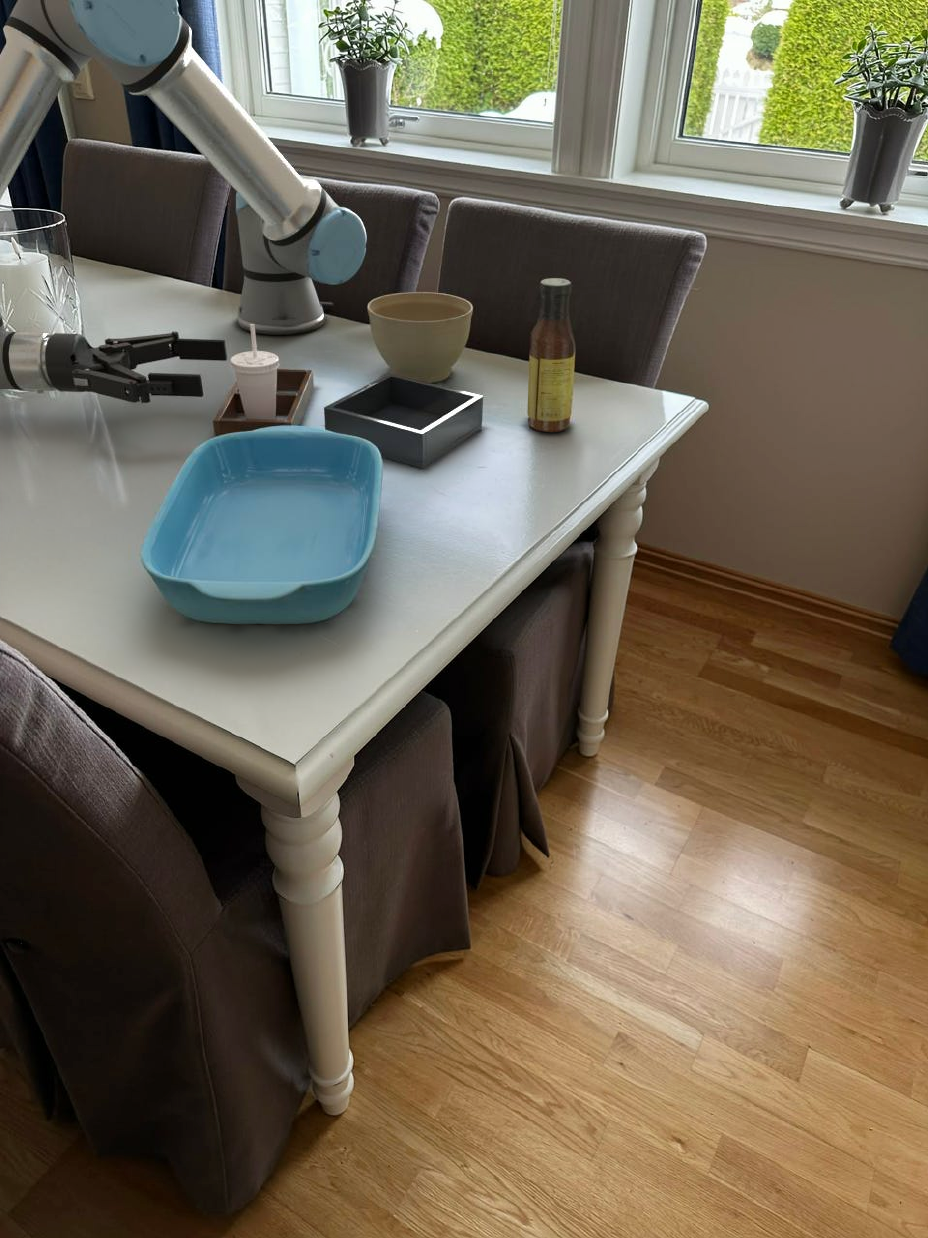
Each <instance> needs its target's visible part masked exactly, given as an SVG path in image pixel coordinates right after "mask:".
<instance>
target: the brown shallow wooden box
mask: <svg viewBox="0 0 928 1238" xmlns="http://www.w3.org/2000/svg"><path fill="white" fill-rule="evenodd" d="M314 381H315V380H314V370H313V369H287V368H286V369H284V368H277V385H276V391H297V393H295V392H294V393H293V392H292V393H291V392H276V416H278V415H279V416H287V417H286V419H275V420H263V419H246V418H235V417H236V416H237V414H238V415H245V413H244V409H243V405H242V401H241V397H240V393H239V389H238V385H237V381H236V380H235V382H234V384H233V385H232V387H231V389H230V391H229V392H228V394H227V396H226V398H225V399H224V400H223V402H222V404H221V406H220V407H219V409H218V411H217V412H216V415H215V416H214V417H213V419H212V424H213V431H214V437H218V436H221V435H225V434H230V433H237V432H247V431H253V430H257V429H261V428H266V427H273V426H301V425H302V421H303V419H304V416H305V413H306V411H307V408H308V406H309V403H310V401H311V398H312V396H313V393H314V390H315V383H314Z"/></svg>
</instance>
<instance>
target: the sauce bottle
mask: <svg viewBox="0 0 928 1238" xmlns="http://www.w3.org/2000/svg"><path fill="white" fill-rule="evenodd" d="M539 293H540V310H539V316H538V320H537V322H536V325H535V326H534V328H533V329H532V331H531V332H530V347H529V348H530V350H529V359H528V381H527V382H528V383H527V385H528V386H527V391H528V392H527V409H526V410H527V411H526V412H527V414H526V415H527V416H528V417H527V424H528V426H530V427H531V428H533V429H534V430H535V431H538V432H542V433H543V432H544V433H559V432H562V431H565V430H566V429H568V428H569V426H570V421H571V416H572V410H573V397H574V380H575V366H576V365H575V363H576V362H575V361H576V342H575V341H576V340H575V337H574V331H573V329H572V328H573V327H572V324H571V319H570V314H569V307H570V306H569V305H570V295H571V293H572V282H571V281H569V280H568V279H566V278H557V277H554V278H553V277H551V278H545V279H542V280H541V281H540V284H539Z"/></svg>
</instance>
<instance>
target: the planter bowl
mask: <svg viewBox="0 0 928 1238" xmlns="http://www.w3.org/2000/svg"><path fill="white" fill-rule="evenodd" d="M473 310H474V306H473V304H472V303H471V302H470V301H468V300H467V299H465V298H462V297H460V296H456V295H452V294H446V293H440V292H431V291H429V292H428V291H416V292H415V291H412V292H411V291H410V292H399V293H391V294H385V295H382V296H379V297H378V296H377V297H376V298H373V299H372V300H371V301H369V302H368V303H367V314H368V316H369V325H370V332H371V335H372V339H373V342H374V345H375V347H376V349H377V351H378V353H379V355H380V356H381V358H382V360H383V361H384V362H385V364H386V365H387V366H388V368H389V372H390V374H395V375H399V376H403V377H407V378H411V379H415V380H419V381H423V382H428V383H432V384H434V383H437V382H441V381H444V380H447V379H448V378H449V377H450V376H451V373H452V368H453V367H454V366H455V364H456V363H457V361H458V359H459V358H460V357H461V354H462V353H463V351H464V349H465V348H466V344H467V342H468V339H469V334H470V329H471V321H472V320H471V319H472V317H473V316H472V315H473Z"/></svg>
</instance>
